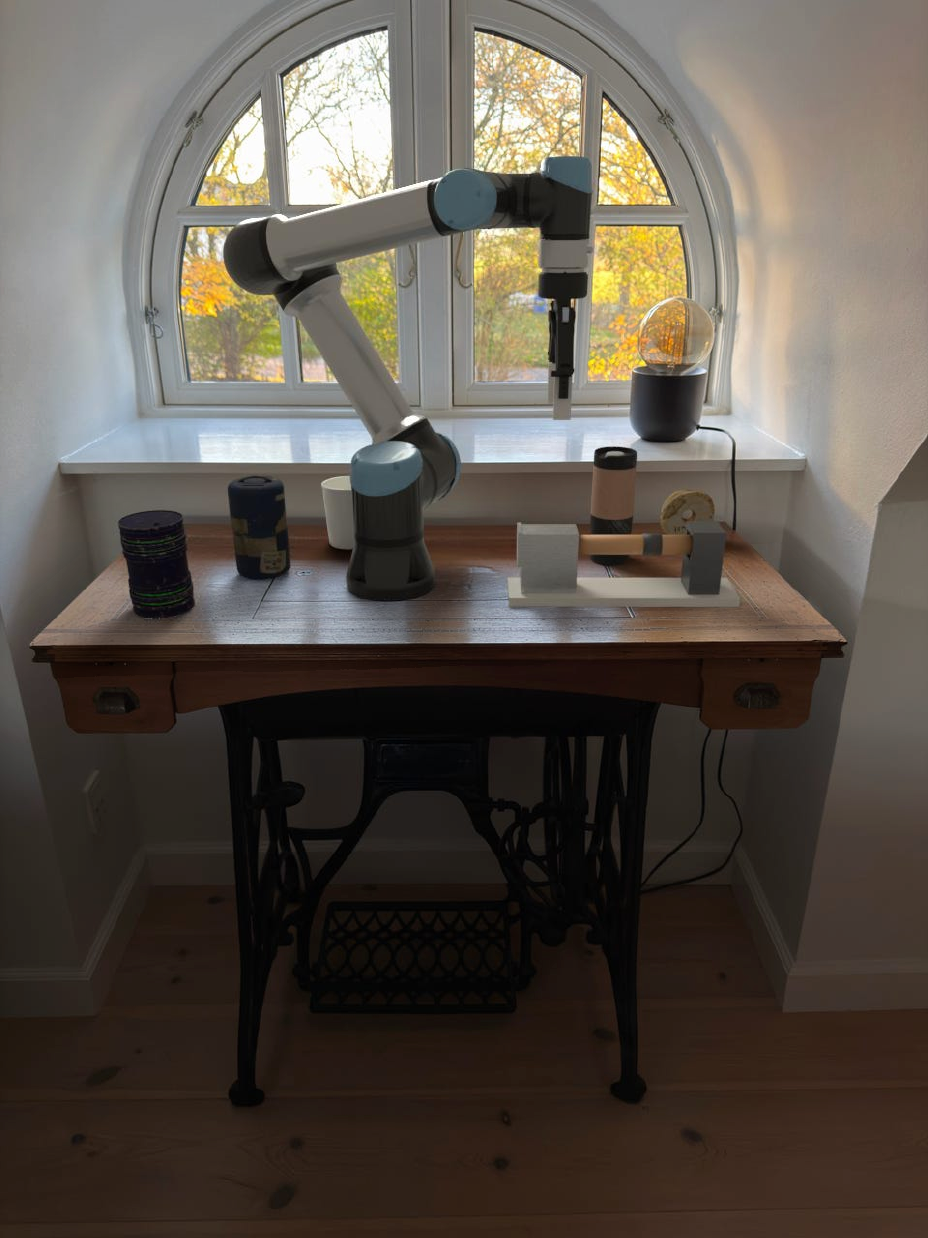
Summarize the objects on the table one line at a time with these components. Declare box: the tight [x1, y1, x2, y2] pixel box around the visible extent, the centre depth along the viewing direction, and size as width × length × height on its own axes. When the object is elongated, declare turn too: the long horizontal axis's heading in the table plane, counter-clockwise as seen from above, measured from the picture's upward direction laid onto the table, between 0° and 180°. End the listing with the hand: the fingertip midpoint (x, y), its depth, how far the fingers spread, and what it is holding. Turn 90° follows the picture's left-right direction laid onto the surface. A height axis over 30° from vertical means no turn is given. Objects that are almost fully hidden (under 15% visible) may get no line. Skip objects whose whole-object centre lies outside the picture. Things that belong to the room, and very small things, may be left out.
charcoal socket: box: [680, 520, 727, 595], centre depth 144 cm, size 5×6×10 cm
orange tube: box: [578, 532, 692, 557], centre depth 144 cm, size 22×4×4 cm, turn 89°
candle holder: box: [320, 475, 355, 550], centre depth 171 cm, size 10×10×12 cm
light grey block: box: [516, 522, 580, 594], centre depth 145 cm, size 10×5×10 cm, turn 89°
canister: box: [227, 474, 292, 581], centre depth 154 cm, size 10×10×18 cm
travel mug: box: [589, 445, 638, 566], centre depth 160 cm, size 8×8×20 cm
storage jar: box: [117, 509, 196, 620], centre depth 142 cm, size 10×10×15 cm
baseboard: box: [507, 577, 741, 608], centre depth 147 cm, size 37×9×2 cm, turn 89°
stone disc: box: [659, 489, 716, 535], centre depth 172 cm, size 10×4×10 cm, turn 97°
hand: (558, 411), depth 144 cm, fingers open, 13 cm apart
